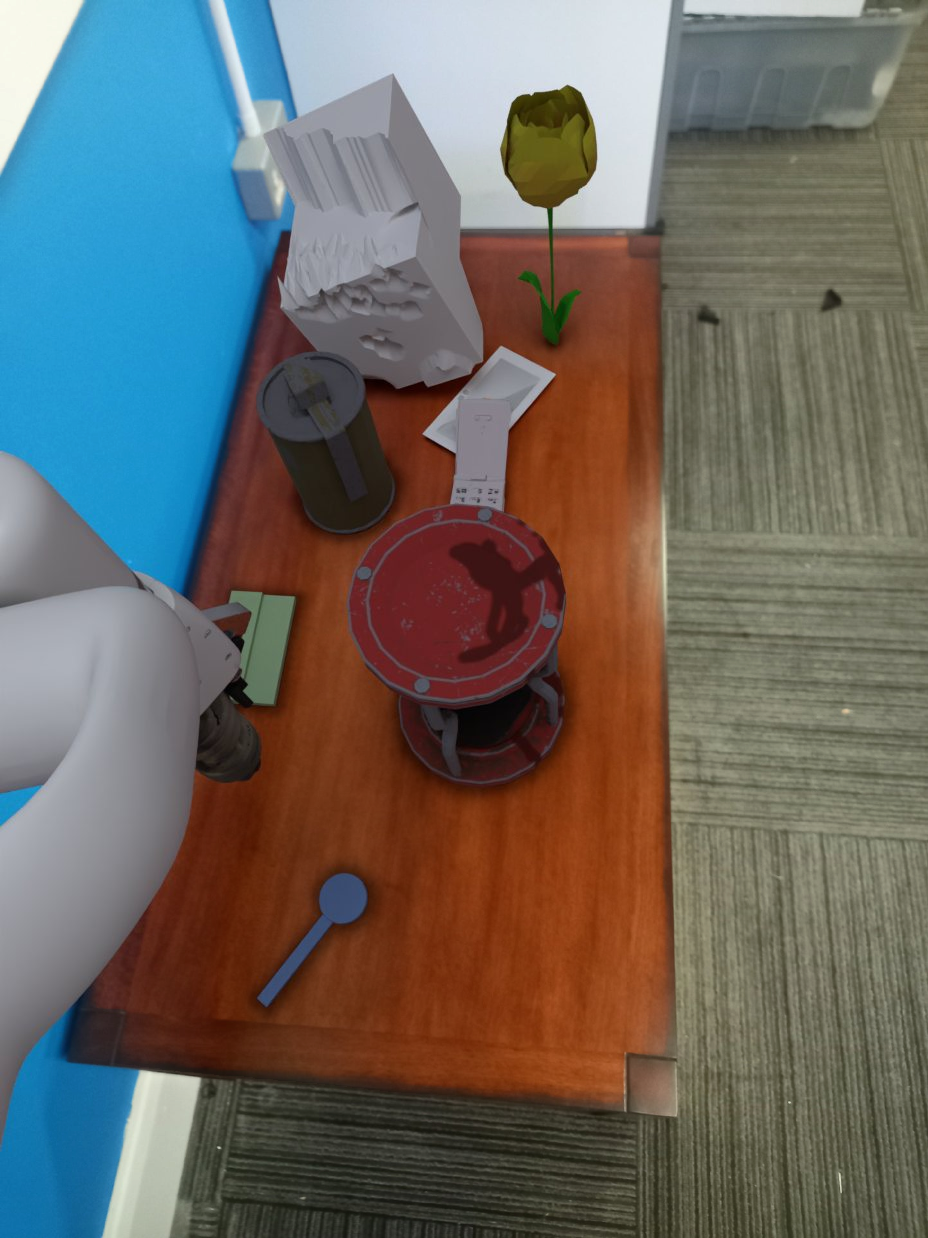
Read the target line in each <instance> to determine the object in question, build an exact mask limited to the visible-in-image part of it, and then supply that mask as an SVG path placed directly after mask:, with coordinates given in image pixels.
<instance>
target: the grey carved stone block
mask: <svg viewBox="0 0 928 1238" xmlns="http://www.w3.org/2000/svg"><path fill="white" fill-rule="evenodd" d="M262 136H263V139H264V141H265V143H266V146H267V148H268V151H269V152H270V154H271V157H272V159H273V161H274V163H275V165H276V167H277V170H278V172H279V175H280V176H281V179H282V181H283V183H284V185H285V188H286V190H287V192H288V195H289V196H290V200H291V201H292V203H293V206H294V213H293V219H292V225H291V231H290V240H289V247H288V255H287V257H286V261H287V263H286V268H285V273H284V278H283V279H284V280H283V282H282V280H281V279H280V277H279V276H278V275H277V281H278V287H279V292H280V299H281V300H280V307H279V309H280V310H281V311H282V312H284V314H285V315H286V316H287V318H289V320H290V321H291V322H292V324H293V325H294V326H295V327H296V328H297V329H298V330H299V332H300V333H301V334H302V335H303V336H304V337H305V339H306V340H307V341H308V342H309V343H310V344H311V345H312V347H313V348H314V349H315V351H321V352H330V353H334V354H338V355H340V356H342V357H344V358H346V359H348V360H349V361H350V362H352V363H353V364H354V365H355V366H356V367H357V368H358V370H359V371H360V373H361V375H362V377H363V380H365V379H366V380H380V381H381V380H384V381H386V382H387V383H389V384H391V385H392V386H393V387H394V388H395V389H396V390H398V389H403V388H405V387H409V386H412V385H415V384H418V383H422V382H424V384H425V386H426V387H427V388H430V387H433V386H437V385H439V384H443V383H446V382H449V381H451V380H455V379H458V378H462V377H466V376H469V375H471V374H472V372H473V368H475V366H476V365H478V364H481V363H483V362H484V329H483V323H482V320H481V317H480V313H479V311H478V307H477V305H476V302H475V298H474V296H473V294H472V291H471V290H472V289H471V288H470V284H469V282H468V278H467V276H466V273H465V272H466V271H465V270H464V267H463V264H462V261H461V258H460V257H461V256H460V255H461V254H460V253H461V220H462V219H461V214H462V213H461V212H462V195H461V193H460V192H459V190H458V187H457V186H456V185H455V182H454V181H453V179H452V177H451V175H450V173H449V171H448V170H447V168H446V166H445V164H444V163H443V161H442V159H441V157H440V156H439V154H438V152H437V150H436V148H435V146H434V145H433V142H432V141H431V138H429V136H428V133H427V132H426V130H425V128H424V127H423V125H422V123H421V121H420V119H419V118H418V115H417V114H416V111H414V108H413V106H412V105H411V103H410V101H409V99H408V97H407V95H406V94H405V92H404V90H403V88H402V87H401V85H400V83H399V81H398V79H397V78H396V76H395V74H394V73H390V74H387V75H386V76H384V77H381V78H379V79H377V80H375V81H373V82H371V83H368V84H367V85H365V86H362V87H359V88H358V89H356V90H354V91H351V92H350V93H347V94H346V95H343V96H342V97H339V98H337V99H334V100H332V101H331V102H328V103H326V104H323V105H321V106H320V107H318V108H315V109H313V110H310V111H309V112H307V113H305V114H303V115H301V116H299V117H296V118H294V119H293V120H289V121H288V122H286V123H284V124H283V123H282V124H281V125H279V126H277V127H275V128H272V129H271V130H269V131H266V132H265V133H263V135H262Z"/></svg>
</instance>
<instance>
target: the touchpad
mask: <svg viewBox="0 0 928 1238" xmlns="http://www.w3.org/2000/svg"><path fill="white" fill-rule="evenodd" d="M556 375H557V374H556V373H555V372H553V371H551V370H548V369H547V368H545V367H543V366H541V365H539V364H537V363H535V362H534V361H531V360H529V359H528V358H526V357H525V356H522V355H520V354H518V353H516V352H514V351H512V350H511V349H508V348H506V347H504V346H502V345H500V346H499V347H498V348H497V349H496V350H495V352H494V353H493V354H492V355H491V356H490V357H489V358H488V359H487V361H486V362H485V363H484V364H483V365H482V366H481V367H480V368H479V370H478V371H477V372H475V374H474V375H473V376H472V378H470V380H468V382H466V384H465V385H464V386H463V387H462V388H461V390H460V391H459V392H458V393H457V394H456V396H454V398H453V399H452V400H451V401H450V402H449V403H448V404H447V406H445V408H443V410H442V411H441V413H440V414H439V415H438V416H437V417H436V418H435V419H434V420H433V421H432V422H431V423H430V425H429V426H428V427H427V428H426V429H425V430H424V431H423V433H422V435H423V436H425V437H426V438H428V439H430V440H431V441H433V442H434V443H437V444H438V445H440V446H441V447H443V448H445V449H447V450H449V451H451V452H452V453H454V454H456V434H457V421H456V409H457V408H458V401H459V400H463V399H498V400H508V401H510V410H511V421H510V422H509V430H510V429H511V428H512V427H513V426H514V425H515V423H517V421H518V420H519V419H520V417H521V416H522V415H523V414H525V412H526V410H528V408H529V407H530V406H531V405H532V404H533V402H534V401H535V400H536V399H537V398H538V396H539V395H540V394H541V393H542V392H543V391H544V390H545V388H547V386H548V385H549V384H550V383H551V381H552V380H553V379H554V378H555V376H556ZM509 416H510V413H509Z"/></svg>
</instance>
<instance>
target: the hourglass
mask: <svg viewBox="0 0 928 1238" xmlns="http://www.w3.org/2000/svg"><path fill="white" fill-rule="evenodd" d="M566 604H567V592H566V587H565V582H564V579H563V572H562V569H561V565H560V562H559V560H558V559H557V557H556V555H555V554H554V553H553V551H552V550H551V548H550V546H549V545H548V544H547V542H546V541H545V539H544V537H543V536H541V534H539V533H538V532H537V531H536V530H534V529H533V528H532V527H531V526H530V525H529V524H527V523H526V522H524V521H523V520H522V519H520V518H519V517H517V516H514V515H512V514H510V513H507V512H505V511H504V512H502V511H500V510H497V509H495V508H492V507H490V506H481V505H470V504H459V503H455V504H450V503H449V504H445V505H439V506H434V507H428V508H424V509H420V510H419V511H417V512H415V513H413V514H411V515H409V516H406V517H405V518H403V519H400V520H398V521H395V522H394V523H393V524H392V525H391V526H389V528H387V529H385V531H384V532H383V533H382V534H380V535H379V536H378V537H377V538H376V539H375V540H374V541H372V542H371V543H370V544H369V546H368V548H367V549H366V551H365V552H364V553H363V556H361V559H360V561H359V562H358V564H357V566H356V567H355V568H354V570H353V573H352V577H351V581H350V584H349V590H348V593H347V598H346V610H347V611H346V612H347V620H348V629H349V634H350V637H351V638H352V641H353V642H354V644H355V647H356V649H357V651H358V653H359V655H360V657H361V659H362V661H363V663H364V665H365V667H366V668H367V669H368V670H369V671H370V672H371V673H372V674H373V675H374V676H375V677H376V678H377V679H378V680H379V681H380V682H381V683H382V684H383V685H384V686H385V687H386V688H387V689H388V690H389V691H390V692H393V693H395V694H397V695H399V697H398V698H399V699H398V703H397V705H398V713H399V714H398V715H399V721H400V729H401V730H402V733H403V735H404V737H405V739H406V741H407V743H408V745H409V747H410V749H411V752H412V753H413V755H414V756H415V757H416V758H417V759H418V760H419V761H420V762H421V763H422V764H423V765H424V766H425V767H426V768H427V769H428V770H429V771H430V772H431V773H432V774H435V775H436V776H439V777H441V778H443V779H445V780H447V781H449V782H450V783H453V784H455V785H460V786H467V787H475V788H482V789H483V788H488V787H494V786H499V785H505V784H509V783H511V782H514V781H515V780H517V779H519V778H521V777H523V776H525V775H527V774H528V773H530V772H532V771H533V770H534V769H535V768H536V767H538V765H539V764H540V763H541V762H542V761H543V760H544V759H545V758H546V757H547V756H548V755H549V754H550V753H551V752H552V750H553V747H554V746H555V743H556V742H557V739H558V738H559V735H560V733H561V731H562V728H563V720H564V713H565V712H564V711H565V705H566V698H565V694H564V689H563V684H562V680H561V676H560V673H559V671H558V670H557V669H558V668H559V660H558V659H559V657H558V656H559V653H558V651H559V650H558V649H559V648H558V642H559V641H560V638H561V636H562V634H563V627H564V620H565V613H566V606H567V605H566Z"/></svg>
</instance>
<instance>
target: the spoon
mask: <svg viewBox="0 0 928 1238" xmlns="http://www.w3.org/2000/svg"><path fill="white" fill-rule="evenodd" d="M368 902H369V893H368V889H367V886H366V885H365V883H364V881H363V880H362V879H361V878H359V877H358V876H356V875H354V874H352V873H348V872H342V873H337V874H334V875H333V876H331V877H329V878H328V879H327V880H326V881H325V882H324V884H323V885H322V887H321V889H320V891H319V895H318V906H319V909H320V911H321V913H322V915H321V916H320V917H319V918H318V919H317V921H316V922H315V923H314V925H312V927H311V928H310V930H309V931H308V933H307V934H306V935H305V936H304V937H303V939H302V940H301V941H300V943H298V945H297V947H296V948H295V949H294V950H293V951H292V952H291V953H290V955H289V956H288V958H287V959H286V960H285V961H284V962H283V964H282V965H281V967H280V968H279V969H278V970H277V972H276V973H275V974H274V975H273V977H272V978H271V979H270V981H269V982H268V983H267V984H266V985H265V987H264V988H263V989H262V991H261V992H260V994H259V995H258V996H257V998H256V1000H258V1001H259V1002H261V1004H262V1005H264V1006H265V1008H269V1007H270V1006H271V1004H272V1003H273V1001H275V999H276V998H277V997H278V995H279V994H280V993H281V991H282V990H283V989H284V988H285V986H286V985H287V984H288V982H289V981H290V980H291V978H292V977H293V976H294V975H295V973H296V972H297V971H298V970H299V968H300V967H301V966H302V965H303V964H304V962H305V961H306V960H307V958H308V957H309V955H311V953H312V951H313V950H314V949H315V948H316V946H317V945H318V944H319V943H320V941H321V940H322V939H323V938H324V936H325V935H326V934H327V932H328V931H329V930H330V928H331V927H332V926H333V925H334V924H336V925H337V924H338V925H348V924H351V923H354V922H356V921H357V920H358V919H360V918H361V916H362V915H363V914H364V913H365V912H366V909H367V906H368V904H369V903H368Z"/></svg>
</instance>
